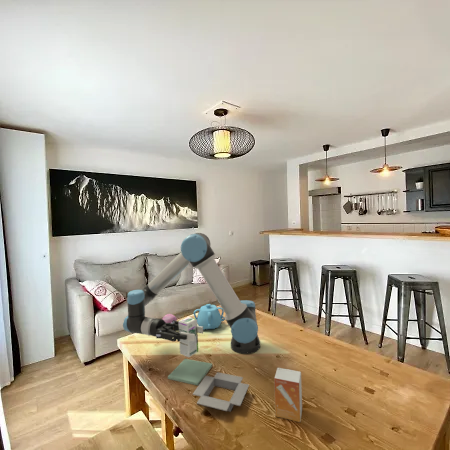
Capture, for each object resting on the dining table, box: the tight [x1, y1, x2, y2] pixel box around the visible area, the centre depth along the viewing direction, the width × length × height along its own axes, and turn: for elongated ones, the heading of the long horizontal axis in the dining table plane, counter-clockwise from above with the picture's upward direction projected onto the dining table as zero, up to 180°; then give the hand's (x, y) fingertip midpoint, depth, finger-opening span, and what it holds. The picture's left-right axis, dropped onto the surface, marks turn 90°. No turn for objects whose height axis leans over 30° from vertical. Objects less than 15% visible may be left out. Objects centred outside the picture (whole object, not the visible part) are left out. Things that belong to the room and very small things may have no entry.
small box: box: [274, 367, 303, 423], centre depth 83 cm, size 8×6×13 cm
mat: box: [167, 358, 213, 387], centre depth 108 cm, size 14×14×1 cm
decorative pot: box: [193, 303, 226, 331], centre depth 154 cm, size 16×16×14 cm
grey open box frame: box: [192, 372, 250, 413], centre depth 92 cm, size 18×18×3 cm
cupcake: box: [162, 313, 178, 330], centre depth 150 cm, size 9×9×10 cm
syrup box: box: [177, 316, 199, 358], centre depth 108 cm, size 6×6×14 cm
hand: (198, 333), depth 106 cm, fingers closed on syrup box, 7 cm apart
